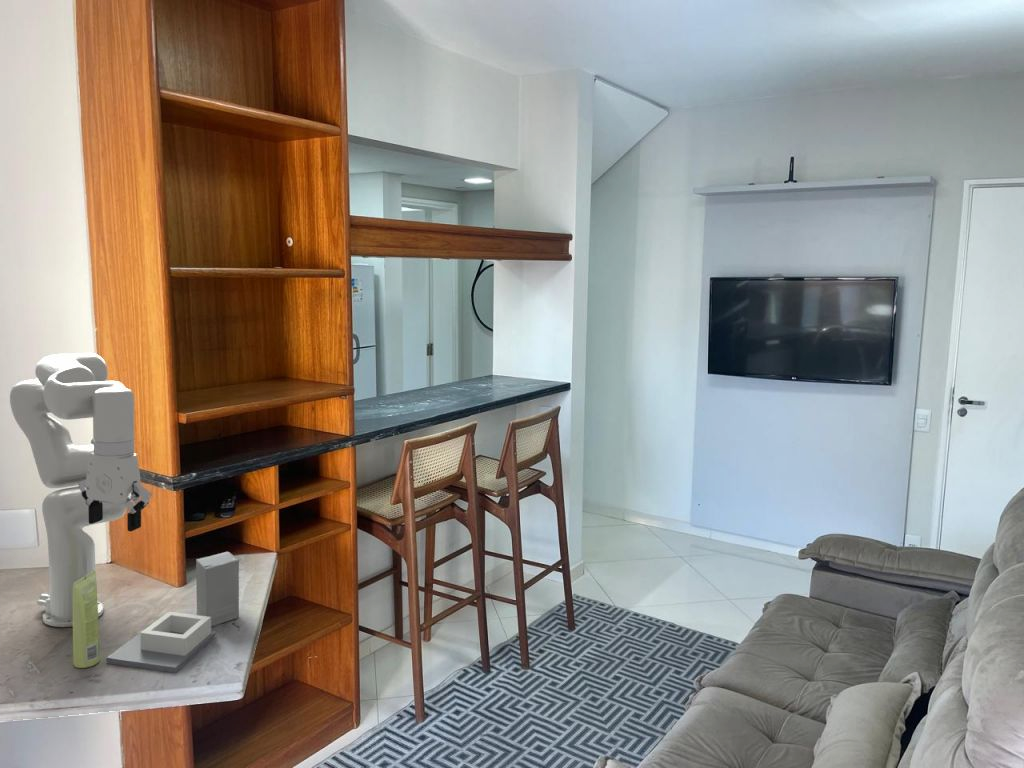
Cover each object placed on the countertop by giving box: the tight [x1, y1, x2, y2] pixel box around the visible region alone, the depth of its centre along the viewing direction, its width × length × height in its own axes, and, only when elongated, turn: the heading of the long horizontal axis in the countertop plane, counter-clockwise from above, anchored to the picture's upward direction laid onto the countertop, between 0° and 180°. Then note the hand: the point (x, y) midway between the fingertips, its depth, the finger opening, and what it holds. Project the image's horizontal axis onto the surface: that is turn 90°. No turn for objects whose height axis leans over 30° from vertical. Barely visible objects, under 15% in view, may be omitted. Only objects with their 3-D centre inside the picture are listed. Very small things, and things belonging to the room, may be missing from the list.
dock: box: [105, 611, 217, 674], centre depth 165 cm, size 16×16×5 cm
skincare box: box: [195, 551, 240, 627], centre depth 180 cm, size 8×7×16 cm
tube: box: [72, 569, 101, 669], centre depth 157 cm, size 6×5×20 cm
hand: (114, 525), depth 157 cm, fingers open, 9 cm apart
